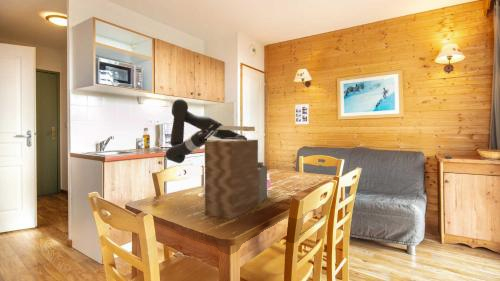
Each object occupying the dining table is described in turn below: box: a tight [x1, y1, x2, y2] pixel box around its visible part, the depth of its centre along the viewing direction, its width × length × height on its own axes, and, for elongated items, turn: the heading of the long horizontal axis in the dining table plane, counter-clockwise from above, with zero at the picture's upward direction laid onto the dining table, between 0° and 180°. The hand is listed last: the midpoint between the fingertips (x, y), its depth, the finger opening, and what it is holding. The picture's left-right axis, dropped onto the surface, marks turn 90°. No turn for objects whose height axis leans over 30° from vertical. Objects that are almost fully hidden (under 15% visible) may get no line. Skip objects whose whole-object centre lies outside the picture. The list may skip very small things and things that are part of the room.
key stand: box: [204, 137, 259, 220], centre depth 124 cm, size 14×24×33 cm, turn 153°
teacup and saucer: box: [198, 187, 205, 197], centre depth 152 cm, size 9×8×4 cm
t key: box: [211, 125, 256, 132], centre depth 130 cm, size 22×8×2 cm, turn 62°
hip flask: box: [258, 161, 268, 205], centre depth 140 cm, size 16×4×20 cm, turn 162°
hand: (219, 124), depth 133 cm, fingers closed on t key, 2 cm apart
